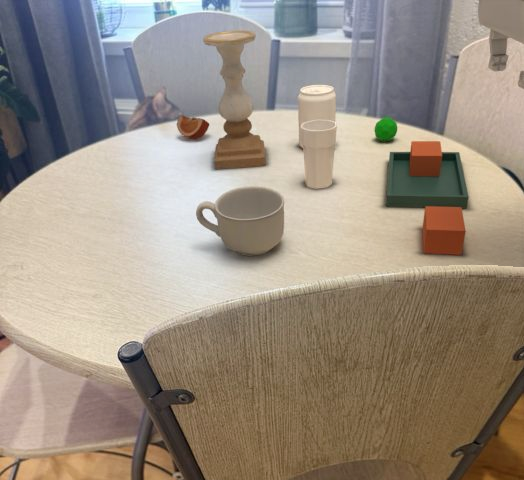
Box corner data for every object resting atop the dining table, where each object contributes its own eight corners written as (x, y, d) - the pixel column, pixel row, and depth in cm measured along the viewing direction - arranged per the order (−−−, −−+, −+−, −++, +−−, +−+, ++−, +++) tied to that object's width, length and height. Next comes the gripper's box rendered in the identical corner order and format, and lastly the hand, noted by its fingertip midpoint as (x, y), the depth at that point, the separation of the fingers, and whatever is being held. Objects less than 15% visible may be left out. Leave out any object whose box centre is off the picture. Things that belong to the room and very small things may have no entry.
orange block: (457, 230, 86) (461, 207, 84) (461, 254, 80) (465, 230, 78) (422, 229, 87) (425, 206, 85) (423, 253, 81) (426, 229, 79)
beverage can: (336, 151, 117) (337, 92, 110) (299, 153, 118) (298, 95, 110) (333, 139, 124) (334, 83, 116) (298, 141, 124) (297, 85, 116)
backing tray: (457, 162, 108) (459, 152, 107) (466, 208, 92) (468, 197, 90) (389, 161, 111) (389, 151, 109) (385, 206, 94) (386, 195, 93)
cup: (342, 184, 103) (344, 125, 96) (314, 193, 101) (314, 133, 94) (322, 174, 108) (322, 117, 101) (295, 182, 105) (293, 125, 98)
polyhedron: (373, 144, 119) (374, 121, 116) (374, 136, 123) (375, 115, 120) (395, 144, 118) (398, 121, 115) (396, 136, 122) (398, 114, 119)
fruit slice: (173, 138, 132) (169, 117, 128) (192, 131, 135) (189, 110, 132) (197, 144, 127) (194, 122, 124) (216, 136, 131) (214, 114, 128)
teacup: (294, 234, 89) (292, 188, 84) (274, 267, 81) (271, 218, 76) (217, 227, 93) (211, 182, 88) (191, 257, 85) (183, 210, 80)
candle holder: (264, 148, 122) (256, 28, 107) (266, 165, 114) (258, 37, 98) (216, 151, 122) (202, 32, 107) (214, 169, 114) (199, 42, 99)
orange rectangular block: (437, 161, 107) (440, 141, 105) (439, 176, 102) (442, 155, 99) (409, 161, 109) (411, 141, 106) (409, 176, 103) (411, 155, 100)
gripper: (624, -60, 50) (577, 99, 58) (530, -66, 65) (504, 59, 74) (556, -55, 50) (520, 103, 58) (479, -62, 65) (459, 63, 74)
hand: (510, 78), depth 66 cm, fingers open, 8 cm apart
